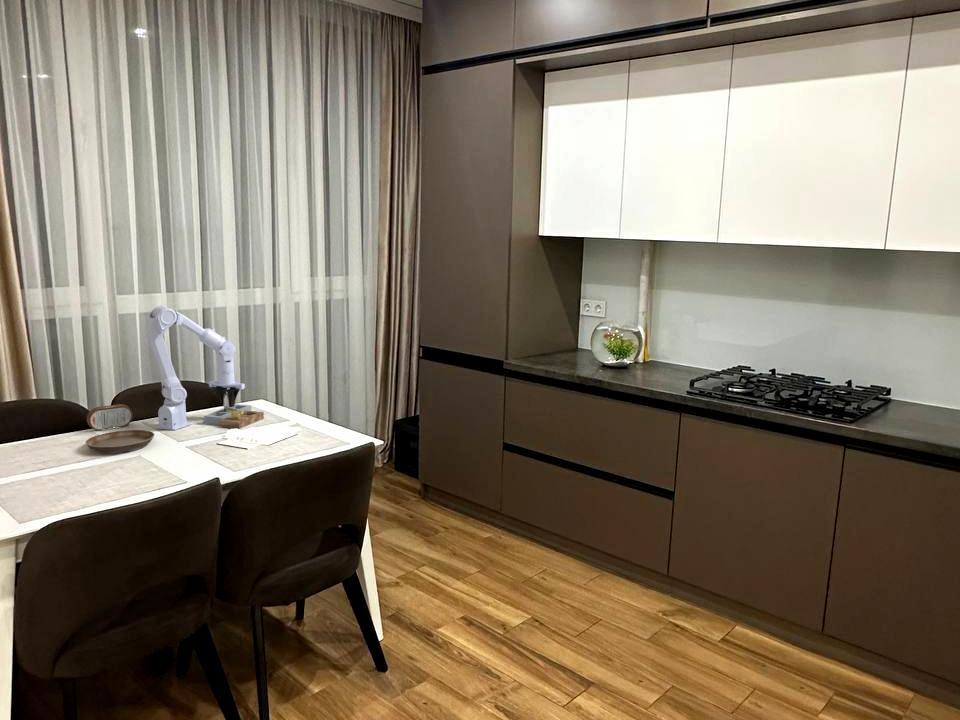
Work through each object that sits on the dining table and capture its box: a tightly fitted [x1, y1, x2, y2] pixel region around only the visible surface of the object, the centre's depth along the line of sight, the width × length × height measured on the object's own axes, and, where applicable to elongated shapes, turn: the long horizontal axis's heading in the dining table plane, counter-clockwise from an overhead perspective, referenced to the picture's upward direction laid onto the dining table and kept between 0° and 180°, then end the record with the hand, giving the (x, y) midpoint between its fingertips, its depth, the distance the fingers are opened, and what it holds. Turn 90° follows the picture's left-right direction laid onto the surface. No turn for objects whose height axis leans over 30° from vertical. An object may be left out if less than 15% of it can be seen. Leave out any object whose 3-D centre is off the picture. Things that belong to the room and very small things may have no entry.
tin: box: [86, 403, 134, 431], centre depth 264 cm, size 15×3×8 cm, turn 130°
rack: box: [203, 403, 252, 426], centre depth 280 cm, size 20×7×3 cm, turn 163°
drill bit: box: [223, 392, 233, 412], centre depth 280 cm, size 3×3×8 cm
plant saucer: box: [85, 429, 155, 454], centre depth 243 cm, size 21×21×3 cm
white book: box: [216, 423, 302, 450], centre depth 256 cm, size 20×28×4 cm
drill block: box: [219, 410, 265, 430], centre depth 274 cm, size 16×8×2 cm, turn 163°
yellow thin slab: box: [228, 409, 244, 420], centre depth 270 cm, size 1×6×5 cm, turn 74°
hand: (227, 406), depth 280 cm, fingers closed on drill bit, 3 cm apart
